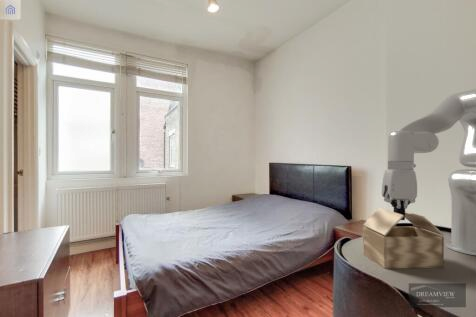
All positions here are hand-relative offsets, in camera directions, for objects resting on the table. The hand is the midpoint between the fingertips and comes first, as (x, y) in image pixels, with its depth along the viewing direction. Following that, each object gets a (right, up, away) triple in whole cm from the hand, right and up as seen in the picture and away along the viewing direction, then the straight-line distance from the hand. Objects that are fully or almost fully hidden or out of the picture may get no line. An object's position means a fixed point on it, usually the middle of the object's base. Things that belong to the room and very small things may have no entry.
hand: (399, 219), depth 83 cm
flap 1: (-6, -1, 0) cm, 6 cm away
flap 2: (+7, -1, +1) cm, 7 cm away
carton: (+1, -14, 0) cm, 14 cm away
